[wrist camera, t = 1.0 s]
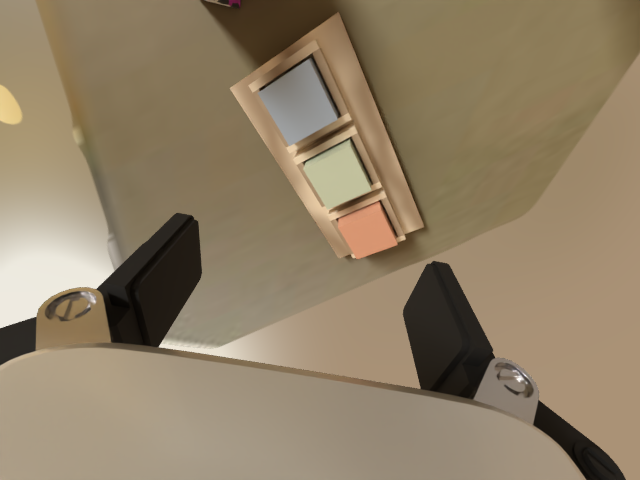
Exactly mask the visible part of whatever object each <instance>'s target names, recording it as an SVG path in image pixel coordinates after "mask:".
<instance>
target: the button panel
mask: <svg viewBox="0 0 640 480" xmlns="http://www.w3.org/2000/svg"><path fill="white" fill-rule="evenodd" d="M310 58H313V60H314V63H315V65H316V67H317V69H318V71H319V73H320V75H321V77H322V79H323V82H324V84H325V86H326V88H327V90H328V92H329V94H330V96H331V99H332V101H333V103H334V105H335V107H336V109H337V111H338V120H336V121H334V122H332V123H330V124H329V125H327V126H325V127H323V128H321V129H320V130H318V131H316V132H314V133H312V134H311V135H309V136H307V137H305V138H304V139H302V140H300V141H298V142H296V143H295V144H293V145H291V146H289V145H288V143H287V141H286V140H285V138H284V136H283V135H282V133H281V131H280V130H279V128H278V126H277V125H276V123H275V121H274V120H273V118H272V116H271V115H270V113H269V111H268V110H267V108H266V106H265V105H264V103H263V101H262V100H261V98H260V96H259V95H258V92H260V91H262V90H263V89H265V88H266V87H268V86H269V85H271V84H272V83H274V82H275V81H277V80H278V79H280V78H281V77H283V76H284V75H286V74H287V73H289V72H290V71H292V70H293V69H295V68H296V67H298V66H299V65H301V64H302V63H304V62H305V61H307V60H308V59H310ZM230 89H231V91H232V92H233V94H234V96H235V97H236V99H237V100H238V102H239V103H240V105H241V106H242V108H243V110H244V111H245V113H246V114H247V116H248V117H249V119H250V120H251V122H252V124H253V125H254V127H255V128H256V130H257V131H258V133H259V135H260V136H261V138H262V139H263V141H264V142H265V144H266V145H267V147H268V149H269V150H270V152H271V153H272V155H273V156H274V158H275V159H276V161H277V163H278V164H279V166H280V167H281V169H282V170H283V172H284V174H285V175H286V177H287V178H288V180H289V181H290V183H291V184H292V186H293V188H294V189H295V191H296V192H297V194H298V195H299V197H300V198H301V200H302V202H303V203H304V205H305V206H306V208H307V209H308V211H309V212H310V214H311V216H312V217H313V219H314V220H315V222H316V223H317V225H318V227H319V228H320V230H321V231H322V233H323V234H324V236H325V237H326V239H327V241H328V242H329V244H330V245H331V247H332V248H333V250H334V251H335V253H336V255H337V256H338V258H341V257H344V256H347V255H349V254H351V256H352V258H356V257H355V255H354V253H353V252H352V250H351V248H350V247H349V245H348V243H347V242H346V240H345V238H344V237H343V235H342V233H341V232H340V230H339V228H338V219H339V217H341V216H343V215H346V214H348V213H351V212H353V211H355V210H358V209H360V208H362V207H365V206H367V205H369V204H372V203H374V202H377V201H379V200H380V202H381V204H382V206H383V209H384V211H385V213H386V215H387V217H388V219H389V221H390V223H391V226H392V228H393V230H394V232H395V235H396V239H397V242H400V241H403V240H405V239H406V238H405V234H407V233H409V232H412V231H415V230H417V229H420V228H423V227H424V225H423V222H422V220H421V217H420V215H419V212H418V210H417V207H416V205H415V202H414V200H413V197H412V195H411V192H410V190H409V187H408V185H407V182H406V180H405V177H404V175H403V172H402V170H401V167H400V165H399V162H398V159H397V157H396V154H395V152H394V149H393V147H392V144H391V142H390V139H389V137H388V134H387V132H386V129H385V127H384V124H383V122H382V119H381V117H380V114H379V112H378V109H377V107H376V104H375V102H374V99H373V97H372V94H371V92H370V89H369V87H368V84H367V82H366V79H365V77H364V74H363V72H362V69H361V67H360V64H359V62H358V59H357V57H356V54H355V52H354V49H353V47H352V44H351V42H350V39H349V37H348V34H347V32H346V29H345V27H344V24H343V22H342V19H341V16H340V14H339V12H338V13H336V14H335V15H333V16H332V17H331V18H329V19H328V20H326V21H325V22H323V23H322V24H321V25H319V26H318V27H316V28H315V29H313V30H312V31H311V32H309V33H308V34H306V35H305V36H304V37H302V38H301V39H299V40H298V41H296V42H295V43H294V44H292V45H291V46H289V47H288V48H286V49H285V50H284V51H282V52H281V53H279V54H278V55H276V56H275V57H274V58H272V59H271V60H269V61H268V62H267V63H265V64H264V65H262V66H261V67H259V68H258V69H257V70H255V71H254V72H252V73H251V74H249V75H248V76H247V77H245V78H244V79H242V80H241V81H240V82H238V83H237V84H235V85H234V86H232V87H231V88H230ZM348 138H350V139H351V141H352V143H353V145H354V147H355V149H356V151H357V154H358V156H359V158H360V160H361V162H362V164H363V166H364V168H365V170H366V173H367V175H368V177H369V179H370V183H371V189H372V190H371V191H369V192H367V193H364V194H362V195H360V196H358V197H355V198H353V199H351V200H349V201H346V202H344V203H342V204H340V205H337V206H335V207H333V208H330V209H328V210H327V208H326V207H325V205H324V203H323V202H322V200H321V198H320V197H319V195H318V193H317V192H316V190H315V188H314V187H313V185H312V183H311V182H310V180H309V178H308V177H307V175H306V173H305V171H304V170H303V169H304V166H305V163H306V160H308V159H310V158H312V157H314V156H315V155H317V154H319V153H321V152H323V151H325V150H327V149H329V148H331V147H333V146H335V145H336V144H338V143H340V142H342V141H344V140H346V139H348Z"/></svg>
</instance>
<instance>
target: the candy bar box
mask: <svg viewBox="0 0 640 480" xmlns="http://www.w3.org/2000/svg"><path fill="white" fill-rule="evenodd" d="M205 1H208V2H212V3H216V4H221V5H225V6H229V7H233V8H240V0H205Z"/></svg>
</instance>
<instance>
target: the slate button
mask: <svg viewBox="0 0 640 480" xmlns="http://www.w3.org/2000/svg"><path fill="white" fill-rule="evenodd" d="M258 95H259V96H260V98H261V100H262V101H263V103H264V105H265V106H266V108H267V110H268V111H269V113H270V115H271V116H272V118H273V120H274V121H275V123H276V125H277V126H278V128H279V130H280V131H281V133H282V135H283V136H284V138H285V140H286V141H287V143H288V145H289V146H291V145H293V144H295V143H296V142H298V141H300V140H302V139H304V138H305V137H307V136H309V135H311V134H312V133H314V132H316V131H318V130H320V129H321V128H323V127H325V126H327V125H329V124H330V123H332V122H334V121H336V120H338V111H337V109H336V107H335V105H334V103H333V101H332V99H331V96H330V94H329V92H328V90H327V88H326V86H325V84H324V82H323V79H322V77H321V75H320V73H319V71H318V69H317V67H316V65H315V63H314V60H313V58H310V59H308V60H307V61H305V62H304V63H302V64H301V65H299V66H298V67H296V68H295V69H293V70H292V71H290V72H289V73H287V74H286V75H284V76H283V77H281V78H280V79H278V80H277V81H275V82H274V83H272V84H271V85H269V86H268V87H266V88H265V89H263V90H262V91H260V92H258Z"/></svg>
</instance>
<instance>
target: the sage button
mask: <svg viewBox="0 0 640 480" xmlns="http://www.w3.org/2000/svg"><path fill="white" fill-rule="evenodd" d="M303 170H304V171H305V173H306V175H307V177H308V178H309V180H310V182H311V183H312V185H313V187H314V188H315V190H316V192H317V193H318V195H319V197H320V198H321V200H322V202H323V203H324V205H325V207H326V208H327V210H328V209H330V208H333V207H335V206H337V205H340V204H342V203H344V202H346V201H349V200H351V199H353V198H355V197H358V196H360V195H362V194H364V193H367V192H369V191H371V190H372V189H371V183H370V179H369V177H368V175H367V173H366V170H365V168H364V166H363V164H362V162H361V160H360V158H359V156H358V154H357V151H356V149H355V147H354V145H353V143H352V141H351V139H350V138H348V139H346V140H344V141H342V142H340V143H338V144H336V145H335V146H333V147H331V148H329V149H327V150H325V151H323V152H321V153H319V154H317V155H315V156H314V157H312V158H310V159H308V160H306V163H305V166H304V169H303Z"/></svg>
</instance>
